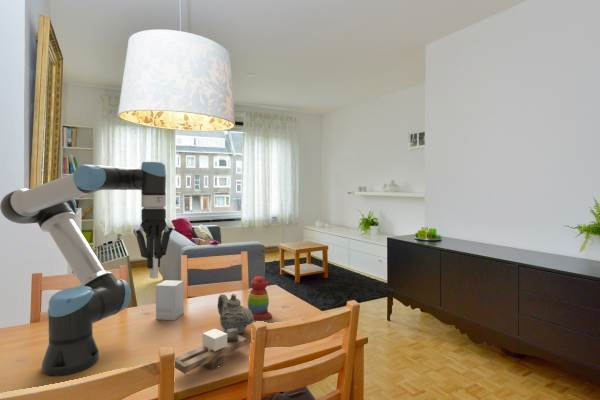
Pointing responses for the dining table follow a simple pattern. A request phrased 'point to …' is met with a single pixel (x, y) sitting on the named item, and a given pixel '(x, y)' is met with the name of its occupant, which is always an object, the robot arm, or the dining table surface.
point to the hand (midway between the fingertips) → (153, 277)
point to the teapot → (233, 313)
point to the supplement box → (169, 300)
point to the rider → (214, 339)
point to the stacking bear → (259, 299)
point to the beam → (209, 354)
